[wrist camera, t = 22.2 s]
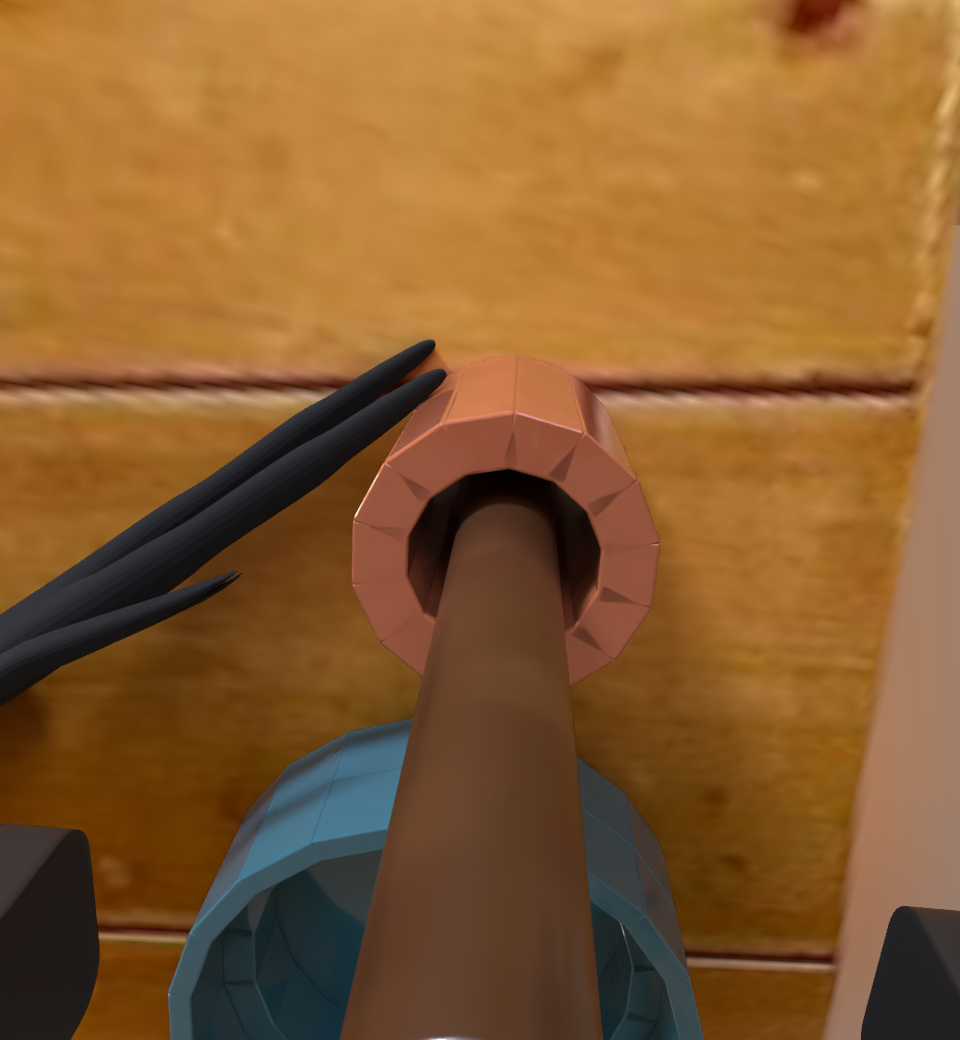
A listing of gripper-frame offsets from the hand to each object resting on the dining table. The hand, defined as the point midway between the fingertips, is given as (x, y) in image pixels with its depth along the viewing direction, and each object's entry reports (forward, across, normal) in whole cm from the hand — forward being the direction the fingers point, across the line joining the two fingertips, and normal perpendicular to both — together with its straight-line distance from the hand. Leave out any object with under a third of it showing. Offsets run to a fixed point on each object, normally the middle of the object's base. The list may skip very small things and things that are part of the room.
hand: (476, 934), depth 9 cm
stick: (+18, 0, 0) cm, 18 cm away
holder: (+18, 0, 0) cm, 18 cm away
